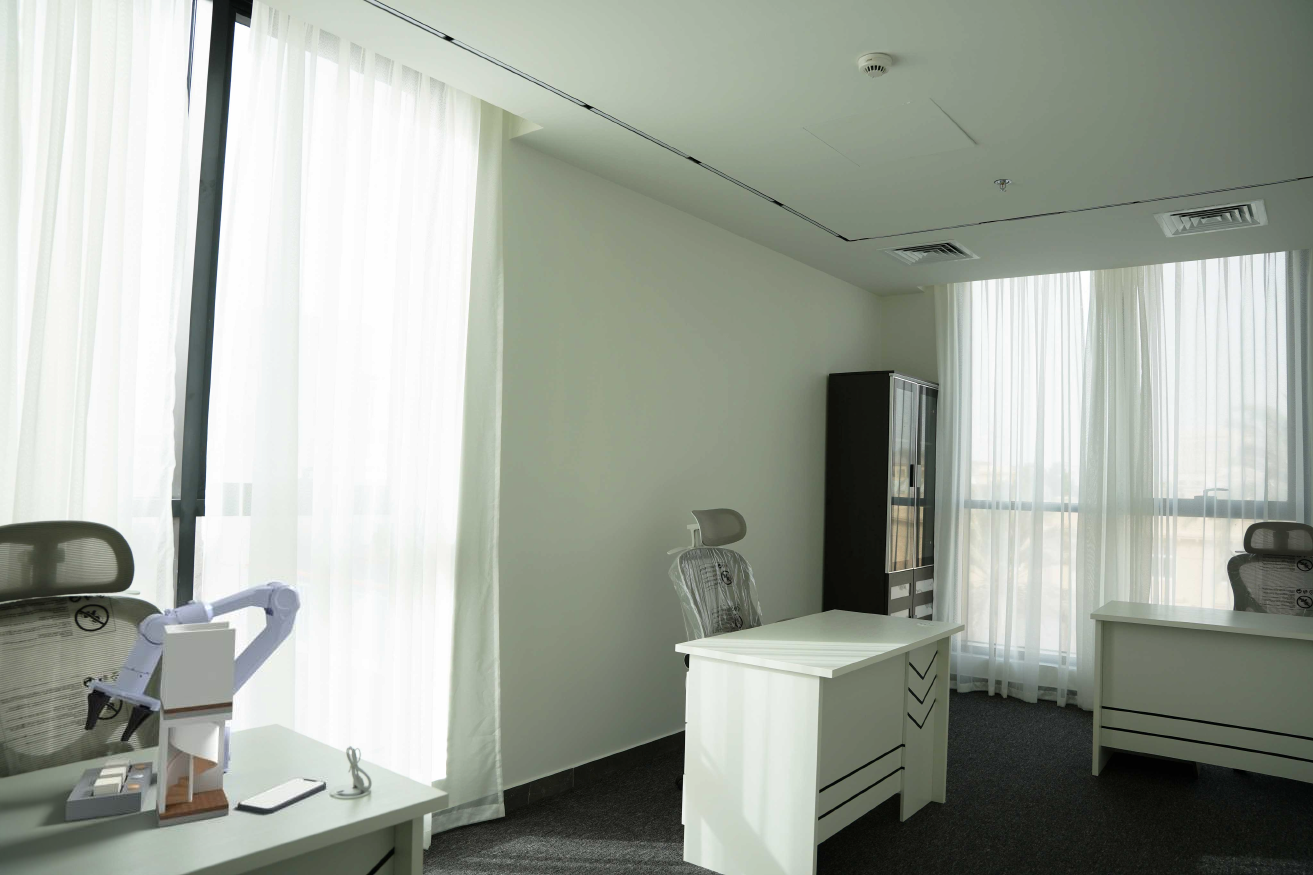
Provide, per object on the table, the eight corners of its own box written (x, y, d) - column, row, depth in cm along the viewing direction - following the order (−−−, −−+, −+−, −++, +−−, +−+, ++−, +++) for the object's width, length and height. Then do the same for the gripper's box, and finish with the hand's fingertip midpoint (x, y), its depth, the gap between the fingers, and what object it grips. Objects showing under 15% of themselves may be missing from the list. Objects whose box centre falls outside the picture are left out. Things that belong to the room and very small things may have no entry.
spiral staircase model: (159, 827, 156) (167, 633, 158) (155, 808, 165) (164, 625, 167) (228, 814, 162) (235, 628, 164) (221, 797, 171) (228, 621, 173)
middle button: (125, 781, 173) (126, 766, 173) (122, 787, 169) (123, 772, 169) (102, 784, 171) (102, 769, 171) (98, 790, 167) (99, 775, 167)
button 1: (120, 791, 167) (121, 776, 167) (117, 798, 163) (118, 782, 163) (96, 794, 165) (97, 779, 165) (93, 801, 161) (93, 785, 162)
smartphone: (268, 818, 162) (329, 789, 177) (269, 809, 162) (329, 781, 177) (233, 812, 165) (296, 784, 180) (233, 803, 165) (296, 776, 180)
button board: (151, 778, 181) (152, 760, 182) (140, 811, 163) (141, 790, 163) (84, 786, 176) (85, 767, 176) (65, 820, 158) (66, 800, 158)
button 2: (129, 771, 178) (130, 757, 179) (127, 777, 175) (127, 762, 175) (107, 774, 177) (107, 759, 177) (104, 780, 173) (104, 765, 173)
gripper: (94, 658, 176) (61, 725, 172) (162, 680, 176) (130, 747, 172) (111, 659, 183) (80, 723, 179) (176, 680, 183) (146, 745, 179)
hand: (106, 735), depth 176 cm, fingers open, 7 cm apart
